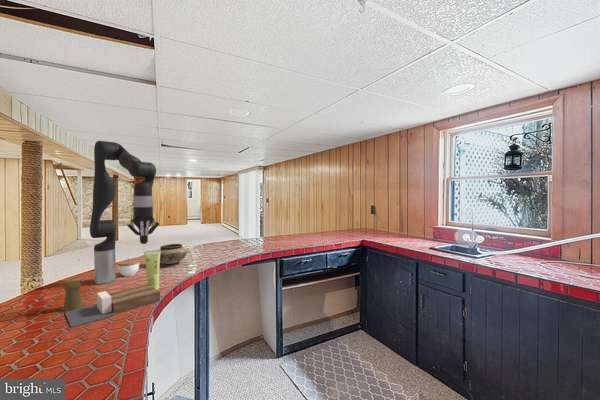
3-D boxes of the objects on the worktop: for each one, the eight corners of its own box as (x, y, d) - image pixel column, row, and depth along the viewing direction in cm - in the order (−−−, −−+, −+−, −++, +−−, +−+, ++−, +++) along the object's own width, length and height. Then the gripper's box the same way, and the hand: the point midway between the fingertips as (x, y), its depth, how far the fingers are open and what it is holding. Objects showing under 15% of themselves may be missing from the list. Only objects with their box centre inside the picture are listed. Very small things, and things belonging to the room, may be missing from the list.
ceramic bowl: (194, 265, 182) (196, 244, 185) (182, 266, 165) (185, 242, 168) (159, 265, 182) (161, 244, 186) (144, 266, 165) (147, 242, 168)
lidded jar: (113, 275, 151) (113, 259, 151) (132, 271, 161) (132, 255, 161) (124, 278, 146) (124, 262, 146) (143, 273, 156) (143, 257, 156)
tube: (150, 292, 126) (149, 252, 126) (144, 290, 129) (143, 250, 128) (161, 288, 131) (160, 249, 131) (155, 286, 134) (154, 248, 133)
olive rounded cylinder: (67, 306, 111) (66, 280, 111) (84, 303, 113) (84, 278, 113) (60, 312, 105) (59, 285, 105) (78, 309, 107) (78, 283, 107)
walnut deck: (105, 304, 113) (105, 294, 113) (148, 292, 126) (148, 284, 125) (114, 314, 104) (113, 304, 103) (160, 300, 116) (159, 292, 116)
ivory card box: (106, 305, 111) (97, 307, 109) (105, 291, 111) (96, 293, 109) (111, 311, 105) (102, 314, 103) (111, 296, 105) (102, 298, 103)
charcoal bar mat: (64, 313, 104) (64, 312, 104) (104, 303, 114) (104, 302, 114) (71, 327, 93) (71, 326, 93) (115, 315, 103) (115, 314, 103)
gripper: (156, 205, 127) (156, 240, 127) (124, 206, 117) (124, 244, 118) (161, 205, 121) (162, 242, 122) (128, 206, 112) (129, 247, 113)
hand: (143, 243), depth 120 cm, fingers closed
